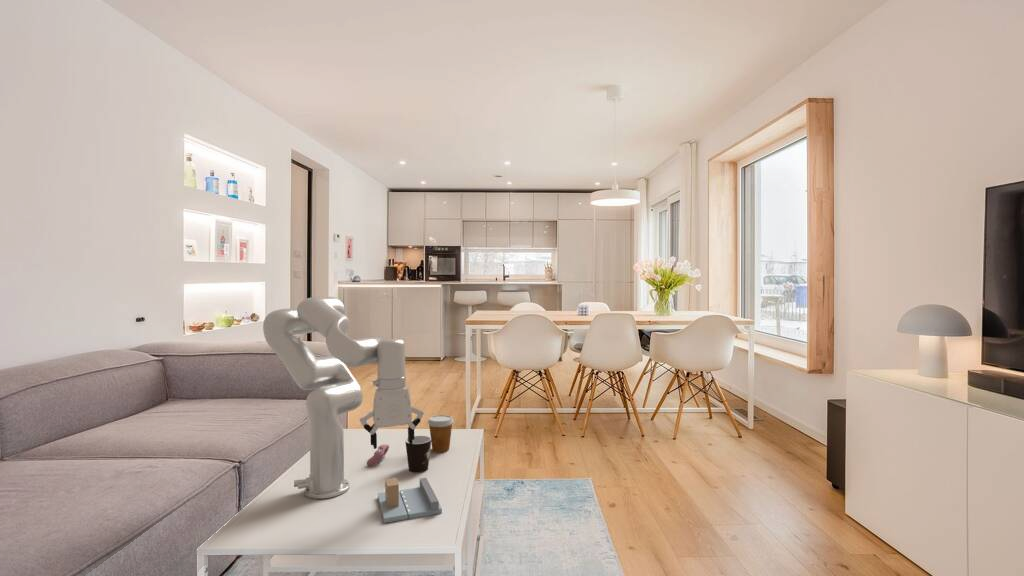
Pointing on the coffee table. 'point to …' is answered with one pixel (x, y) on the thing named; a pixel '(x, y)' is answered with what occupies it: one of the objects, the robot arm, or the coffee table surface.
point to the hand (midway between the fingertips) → (392, 444)
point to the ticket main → (420, 500)
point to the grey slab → (392, 502)
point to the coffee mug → (418, 453)
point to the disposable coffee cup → (440, 432)
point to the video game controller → (378, 455)
